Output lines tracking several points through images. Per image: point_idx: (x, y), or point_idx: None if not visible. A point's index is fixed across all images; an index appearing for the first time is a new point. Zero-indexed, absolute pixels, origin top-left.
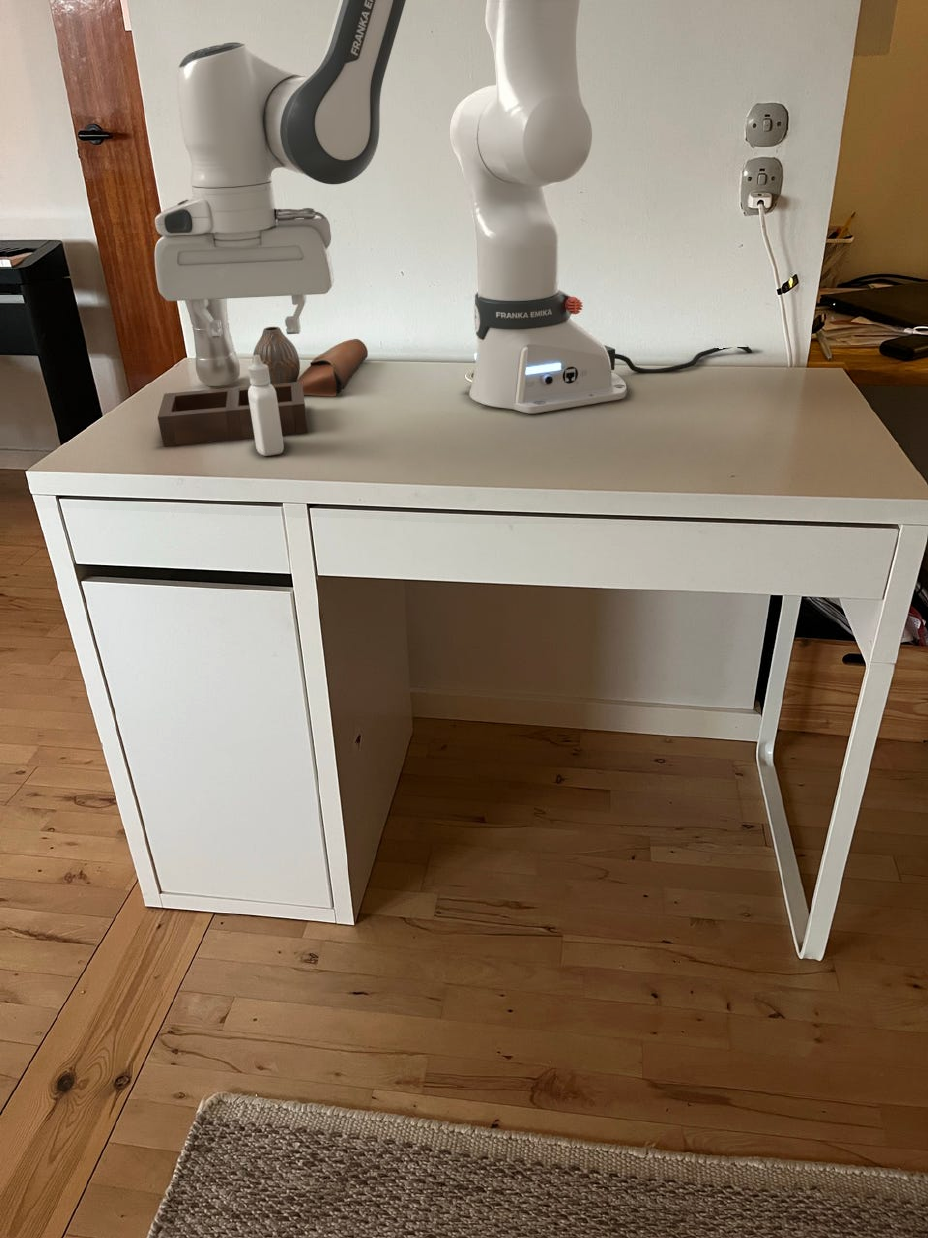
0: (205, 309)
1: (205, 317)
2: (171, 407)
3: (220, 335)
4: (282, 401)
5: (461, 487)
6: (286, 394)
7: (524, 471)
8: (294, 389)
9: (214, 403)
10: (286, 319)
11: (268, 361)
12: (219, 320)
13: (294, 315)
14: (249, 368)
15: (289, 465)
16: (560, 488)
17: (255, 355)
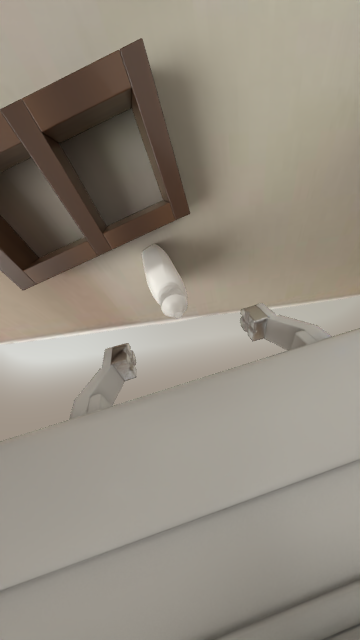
0: (99, 391)
1: (116, 394)
2: (2, 252)
3: (134, 355)
4: (115, 107)
5: (297, 304)
6: (123, 99)
7: (339, 275)
8: (150, 123)
9: (7, 157)
10: (254, 338)
11: None
12: (128, 365)
13: (273, 341)
14: (166, 314)
15: (188, 294)
16: (344, 295)
17: (176, 314)
